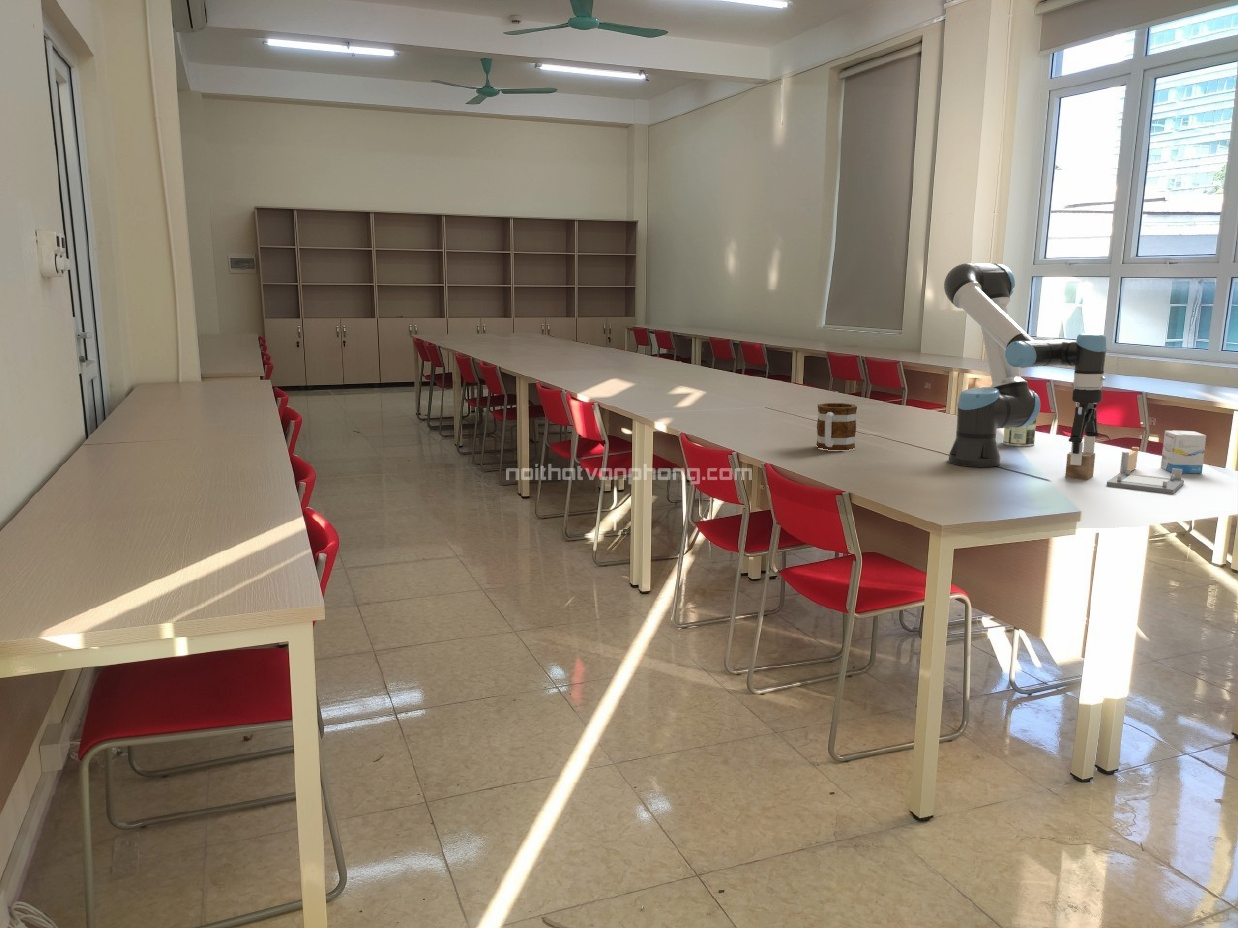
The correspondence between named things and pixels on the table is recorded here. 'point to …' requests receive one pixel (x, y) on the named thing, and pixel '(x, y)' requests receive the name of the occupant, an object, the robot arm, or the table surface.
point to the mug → (836, 426)
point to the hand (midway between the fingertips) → (1081, 461)
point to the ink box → (1183, 451)
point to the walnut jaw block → (1081, 467)
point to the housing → (1145, 480)
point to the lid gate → (1132, 458)
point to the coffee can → (1020, 435)
